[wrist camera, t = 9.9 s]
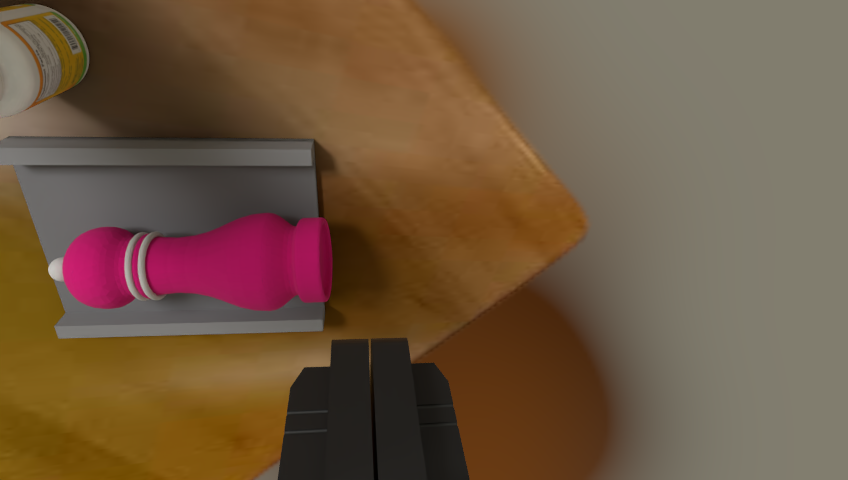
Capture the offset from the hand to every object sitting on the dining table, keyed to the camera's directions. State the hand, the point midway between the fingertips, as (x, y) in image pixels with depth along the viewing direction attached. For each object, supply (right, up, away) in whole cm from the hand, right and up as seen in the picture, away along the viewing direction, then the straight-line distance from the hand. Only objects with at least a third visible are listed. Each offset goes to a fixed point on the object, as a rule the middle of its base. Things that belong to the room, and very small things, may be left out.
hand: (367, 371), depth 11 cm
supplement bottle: (-23, +15, +24) cm, 37 cm away
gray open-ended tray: (-18, +3, +31) cm, 36 cm away
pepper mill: (-6, +1, +28) cm, 29 cm away
